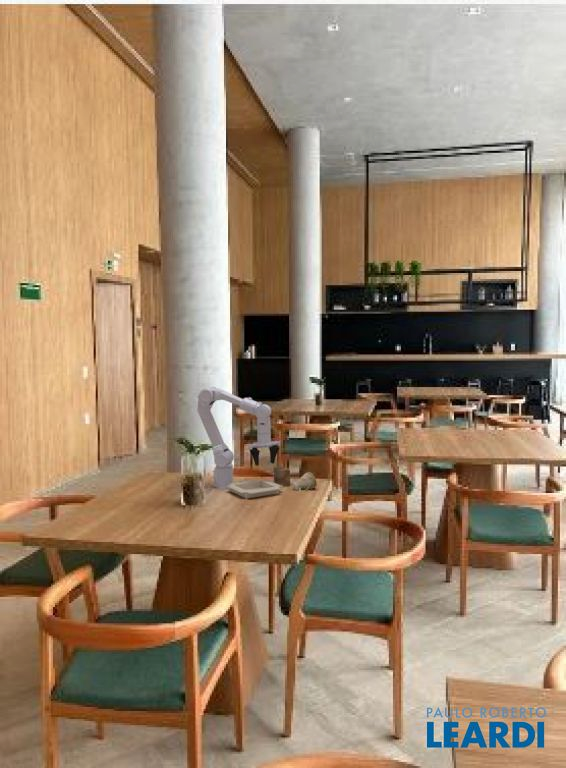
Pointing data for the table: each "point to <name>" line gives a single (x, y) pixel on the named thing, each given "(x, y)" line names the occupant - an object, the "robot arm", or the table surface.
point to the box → (282, 476)
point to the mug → (305, 482)
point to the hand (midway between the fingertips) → (264, 464)
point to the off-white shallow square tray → (254, 488)
